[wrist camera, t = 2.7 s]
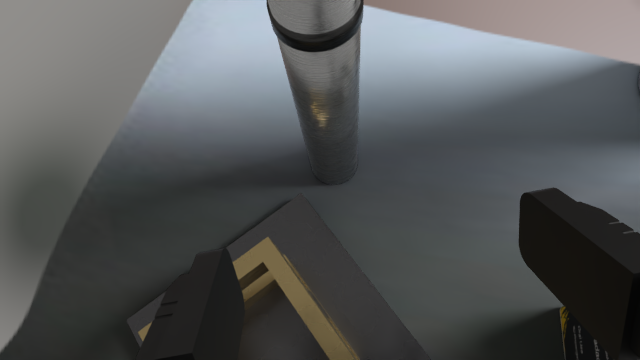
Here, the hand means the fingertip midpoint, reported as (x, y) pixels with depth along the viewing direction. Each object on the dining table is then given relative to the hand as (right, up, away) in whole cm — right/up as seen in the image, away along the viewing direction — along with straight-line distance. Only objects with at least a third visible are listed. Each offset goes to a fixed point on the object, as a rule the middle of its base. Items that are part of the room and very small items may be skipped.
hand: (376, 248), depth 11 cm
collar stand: (-5, -10, +18) cm, 21 cm away
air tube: (0, +3, +23) cm, 23 cm away
